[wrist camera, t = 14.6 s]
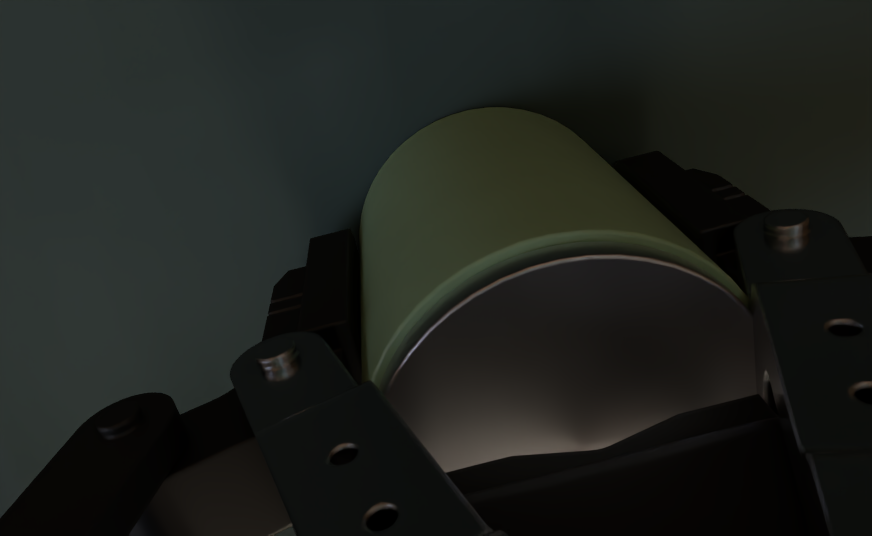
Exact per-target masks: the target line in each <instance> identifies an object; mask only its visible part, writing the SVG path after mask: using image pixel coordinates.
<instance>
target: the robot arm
mask: <svg viewBox="0 0 872 536" xmlns="http://www.w3.org/2000/svg"><path fill="white" fill-rule="evenodd" d="M615 170H616V171H617V172H618V173H619V174H620V175H621V176H622V177H623V178H624V179H625V180H626V181H627V182H628V183H630V184H631V185H632V186H633V187H634V188H635V189H636V190H637V191H638V192H639V193H640V194H641V195H642V196H644V197H645V198H646V199H647V200H648V201H649V202H650V203H651V204H652V205H653V206H654V207H655V208H656V209H658V210H659V211H660V212H661V213H662V214H663V215H664V216H665V217H666V218H667V219H668V220H669V221H670V222H672V223H673V224H674V225H675V226H676V227H677V228H678V229H679V230H680V231H681V232H682V233H683V234H684V235H685V236H687V237H688V238H689V239H690V240H691V241H692V242H693V243H694V244H695V245H696V246H697V247H698V248H699V249H701V250H702V251H703V252H704V253H705V254H706V255H707V256H708V257H709V258H710V259H711V260H712V261H713V262H715V263H716V264H717V265H718V266H719V267H720V268H721V269H722V270H723V271H724V272H725V273H726V274H727V275H729V276H730V277H731V278H732V280H733V281H734V282H735V283H736V284H737V285H738V286H739V288H740V289H741V290H742V291H743V292H744V293H745V294H746V296H747V299H748V309H749V310H750V312H751V313H752V317H753V334H754V352H755V371H756V390H757V394H755V395H751V396H747V397H743V398H740V399H736V400H732V401H728V402H724V403H720V404H716V405H712V406H708V407H704V408H700V409H696V410H692V411H688V412H684V413H680V414H677V415H675V416H673V417H670V418H668V419H666V420H664V421H662V422H660V423H658V424H655V425H653V426H651V427H649V428H647V429H645V430H643V431H640V432H638V433H636V434H634V435H632V436H630V437H627V438H625V439H623V440H621V441H619V442H617V443H615V444H612V445H610V446H608V447H605V448H602V449H597V450H588V451H574V452H560V453H546V454H532V455H518V456H509V457H505V458H501V459H497V460H494V461H490V462H486V463H482V464H478V465H474V466H470V467H466V468H462V469H458V470H454V471H450V472H446V473H445V472H444V470H443V469H442V468H441V467H440V465H439V464H438V463H437V461H436V460H435V459H434V458H433V456H432V455H431V454H430V453H429V451H428V450H427V449H426V448H425V446H424V445H423V444H422V443H421V441H420V440H419V439H418V438H417V436H416V435H415V434H414V432H413V431H412V430H411V429H410V427H409V426H408V425H407V424H406V422H405V421H404V420H403V419H402V417H401V416H400V415H399V414H398V412H397V411H396V410H395V409H394V407H393V406H392V405H391V403H390V402H389V401H388V400H387V398H386V397H385V396H384V395H383V393H382V392H381V391H380V390H379V388H378V387H377V386H376V385H375V384H374V382H372V381H371V380H368V381H366V382H364V383H362V370H361V311H360V255H359V252H358V249H357V245H356V242H355V239H354V236H353V234H352V232H351V230H350V229H346V230H342V231H338V232H334V233H330V234H326V235H322V236H318V237H314V238H311V239H310V243H309V251H308V258H307V265H306V266H305V267H301V268H297V269H294V270H290V271H288V272H287V273H286V274H285V275H284V276H283V277H282V278H281V279H280V280H279V282H278V283H277V284H276V285H275V286H274V289H273V293H272V298H271V304H270V307H269V311H268V314H269V316H267V320H266V325H265V330H264V334H263V339H262V342H260V343H258V344H256V345H255V346H253V347H251V348H250V349H248V350H247V351H246V352H244V353H243V354H242V355H241V356H240V357H239V358H238V359H237V360H236V361H235V363H234V364H233V365H232V368H231V370H230V378H231V381H232V383H233V386H234V389H232V390H231V391H229V392H228V393H226V394H224V395H222V396H221V397H219V398H217V399H214V400H212V401H210V402H208V403H206V404H203V405H201V406H199V407H197V408H194V409H192V410H190V411H188V412H185V413H183V414H181V415H180V414H179V412H178V410H177V407H176V405H175V403H174V401H173V399H172V398H171V397H170V396H168V395H166V394H163V393H144V394H139V395H135V396H131V397H128V398H125V399H122V400H120V401H118V402H116V403H113V404H111V405H109V406H108V407H106V408H104V409H102V410H101V411H99V412H97V413H96V414H95V415H93V416H92V417H90V418H89V419H88V420H87V421H86V422H84V423H83V424H82V425H81V426H80V427H79V428H78V429H77V431H76V432H75V433H74V434H73V435H72V436H71V437H70V439H69V440H68V441H67V442H66V443H65V444H64V446H63V447H62V448H61V449H60V450H59V451H58V452H57V454H56V455H55V456H54V457H53V458H52V459H51V461H50V462H49V463H48V464H47V465H46V466H45V467H44V469H43V470H42V471H41V472H40V473H39V474H38V476H37V477H36V478H35V479H34V480H33V481H32V482H31V484H30V485H29V486H28V487H27V488H26V489H25V491H24V492H23V493H22V494H21V495H20V496H19V497H18V499H17V500H16V501H15V502H14V503H13V504H12V506H11V507H10V508H9V509H8V510H7V511H6V513H5V514H4V515H3V516H2V517H1V518H0V536H273V535H275V534H277V533H279V532H281V531H283V530H285V529H287V528H289V527H291V526H292V527H293V529H294V531H295V534H296V536H872V236H867V237H848V235H847V233H846V232H845V230H844V228H843V226H842V224H841V223H840V222H839V221H838V220H837V219H836V218H834V217H832V216H830V215H828V214H825V213H822V212H818V211H813V210H806V209H781V210H773V211H770V210H769V209H767V208H766V207H764V206H763V205H762V204H760V203H759V202H757V201H756V200H754V199H753V198H751V197H750V196H748V195H746V196H745V194H744V192H742V191H741V190H739V189H738V188H737V187H733V186H732V184H731V183H729V182H728V181H726V180H725V179H723V178H722V177H720V176H719V175H717V174H713V173H709V172H705V171H701V170H697V169H689V170H684V169H682V168H681V167H680V166H678V165H677V164H676V163H674V162H673V161H672V160H670V159H669V158H667V157H666V156H665V155H663V154H662V153H661V152H659V151H654V152H650V153H646V154H643V155H639V156H635V157H631V158H627V159H623V160H619V161H617V162H616V164H615Z"/></svg>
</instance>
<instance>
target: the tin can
mask: <svg viewBox="0 0 872 536" xmlns="http://www.w3.org/2000/svg"><path fill="white" fill-rule="evenodd" d="M359 251H360V311H361V370H362V383H364V382H366V381H368V380H371V381H372V382H374V384H375V385H376V386H377V387H378V388H379V390H380V391H381V392H382V393H383V395H384V396H385V397H386V398H387V400H388V401H389V402H390V403H391V405H392V406H393V407H394V409H395V410H396V411H397V412H398V414H399V415H400V416H401V417H402V419H403V420H404V421H405V422H406V424H407V425H408V426H409V427H410V429H411V430H412V431H413V432H414V434H415V435H416V436H417V438H418V439H419V440H420V441H421V443H422V444H423V445H424V446H425V448H426V449H427V450H428V451H429V453H430V454H431V455H432V456H433V458H434V459H435V460H436V461H437V463H438V464H439V465H440V467H441V468H442V469H443V470H444V472H445V473H446V472H450V471H454V470H458V469H462V468H466V467H470V466H474V465H478V464H482V463H486V462H490V461H494V460H497V459H501V458H505V457H509V456H518V455H532V454H546V453H560V452H574V451H588V450H597V449H602V448H605V447H608V446H610V445H612V444H615V443H617V442H619V441H621V440H623V439H625V438H627V437H630V436H632V435H634V434H636V433H638V432H640V431H643V430H645V429H647V428H649V427H651V426H653V425H655V424H658V423H660V422H662V421H664V420H666V419H668V418H670V417H673V416H675V415H677V414H680V413H684V412H688V411H692V410H696V409H700V408H704V407H708V406H712V405H716V404H720V403H724V402H728V401H732V400H736V399H740V398H743V397H747V396H751V395H755V394H757V390H756V371H755V352H754V334H753V317H752V313H751V312H750V310H749V309H748V299H747V296H746V294H745V293H744V292H743V291H742V290H741V289H740V288H739V286H738V285H737V284H736V283H735V282H734V281H733V280H732V278H731V277H730V276H729V275H727V274H726V273H725V272H724V271H723V270H722V269H721V268H720V267H719V266H718V265H717V264H716V263H715V262H713V261H712V260H711V259H710V258H709V257H708V256H707V255H706V254H705V253H704V252H703V251H702V250H701V249H699V248H698V247H697V246H696V245H695V244H694V243H693V242H692V241H691V240H690V239H689V238H688V237H687V236H685V235H684V234H683V233H682V232H681V231H680V230H679V229H678V228H677V227H676V226H675V225H674V224H673V223H672V222H670V221H669V220H668V219H667V218H666V217H665V216H664V215H663V214H662V213H661V212H660V211H659V210H658V209H656V208H655V207H654V206H653V205H652V204H651V203H650V202H649V201H648V200H647V199H646V198H645V197H644V196H642V195H641V194H640V193H639V192H638V191H637V190H636V189H635V188H634V187H633V186H632V185H631V184H630V183H628V182H627V181H626V180H625V179H624V178H623V177H622V176H621V175H620V174H619V173H618V172H617V171H616V170H614V169H613V168H612V167H611V166H610V165H609V164H608V163H607V162H606V161H605V160H604V159H603V158H602V157H601V156H599V155H598V154H597V153H596V152H595V151H594V150H593V149H592V148H591V147H590V146H589V145H588V144H587V143H585V142H584V141H583V140H582V139H581V138H580V137H578V136H577V135H576V134H575V133H574V132H572V131H571V130H570V129H568V128H567V127H565V126H563V125H562V124H560V123H558V122H557V121H555V120H552V119H550V118H548V117H545V116H543V115H541V114H537V113H534V112H530V111H526V110H522V109H514V108H507V107H487V108H479V109H472V110H467V111H463V112H460V113H456V114H452V115H450V116H447V117H445V118H442V119H440V120H438V121H435V122H433V123H432V124H430V125H428V126H426V127H425V128H423V129H421V130H419V131H418V132H417V133H415V134H414V135H413V136H411V137H410V138H409V139H407V140H406V141H405V142H404V143H403V144H402V145H401V146H400V147H399V148H398V149H397V150H396V151H394V152H393V153H392V154H391V156H390V157H389V158H388V160H387V161H386V162H385V163H384V165H383V166H382V167H381V169H380V170H379V172H378V174H377V175H376V177H375V179H374V181H373V182H372V184H371V187H370V189H369V192H368V194H367V196H366V199H365V202H364V206H363V210H362V214H361V220H360V229H359Z"/></svg>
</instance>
